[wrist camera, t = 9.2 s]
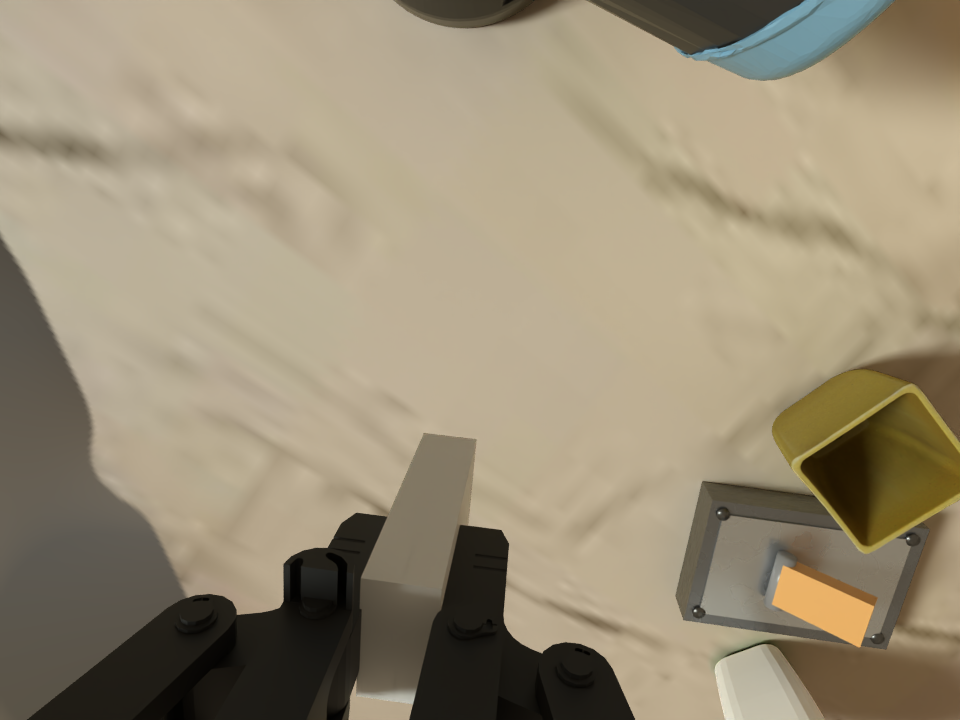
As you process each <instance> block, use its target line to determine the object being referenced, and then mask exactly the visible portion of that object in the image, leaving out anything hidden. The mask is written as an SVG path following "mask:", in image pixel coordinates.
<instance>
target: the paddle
mask: <svg viewBox="0 0 960 720" xmlns="http://www.w3.org/2000/svg"><path fill="white" fill-rule="evenodd" d="M877 599H878V597H876V596H873V595H871V594H869V593H867V592H864V591H862V590H860V589H858V588H855V587H853V586H851V585H849V584H846V583H844V582H842V581H840V580H837V579H835V578H833V577H830V576H828V575H826V574H824V573H821V572H819V571H817V570H815V569H812V568H810V567H808V566H806V565H803V564H801V563H799V562H797V557H796V556H795V555H793V554H791V553H789V552H786V551H779V552H777V556H776V559H775V563H774V566H773V570H772V573H771V577H770V580H769V584H768V587H767V591H766V594H765V598H764V601H763V603H764V605H765V606H766V607H767V608H769V609H771V610H773V611H782V610H784V611H786V612H788V613H790V614H792V615H794V616H796V617H798V618H800V619H802V620H804V621H806V622H808V623H811V624H813V625H815V626H817V627H819V628H821V629H823V630H825V631H827V632H829V633H831V634H833V635H835V636H837V637H839V638H841V639H843V640H845V641H847V642H849V643H851V644H853V645H855V646H857V647H859V648H860V646H861V644H862V641H863V639H864V636H865V633H866V631H867V628H868V625H869V622H870V619H871V616H872V613H873V610H874V608H875V605H876V602H877Z"/></svg>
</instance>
